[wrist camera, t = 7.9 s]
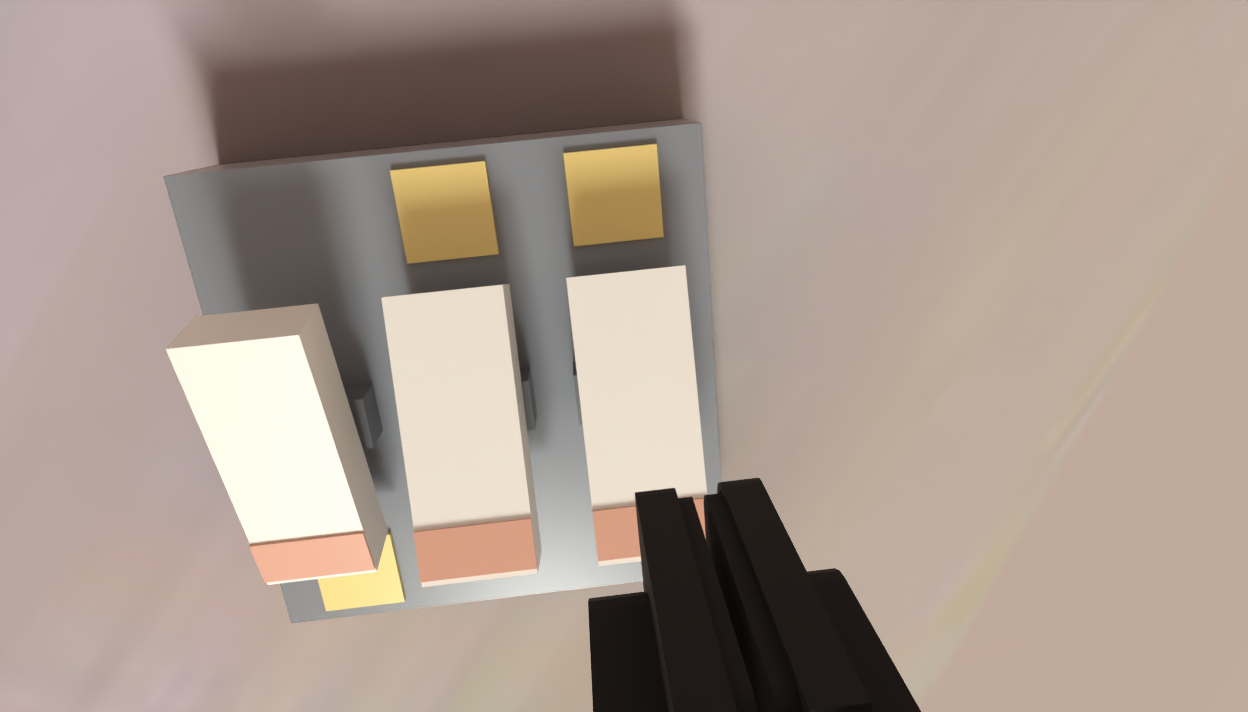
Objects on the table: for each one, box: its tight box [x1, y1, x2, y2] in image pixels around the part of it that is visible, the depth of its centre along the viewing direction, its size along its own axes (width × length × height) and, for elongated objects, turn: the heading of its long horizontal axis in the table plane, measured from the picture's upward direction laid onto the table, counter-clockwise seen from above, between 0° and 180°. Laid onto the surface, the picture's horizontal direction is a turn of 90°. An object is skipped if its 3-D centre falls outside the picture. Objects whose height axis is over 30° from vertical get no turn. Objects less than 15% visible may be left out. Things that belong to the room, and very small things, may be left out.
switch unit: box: [163, 119, 721, 623], centre depth 28 cm, size 17×17×5 cm
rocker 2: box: [381, 284, 542, 587], centre depth 24 cm, size 9×4×2 cm, turn 5°
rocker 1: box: [166, 303, 388, 585], centre depth 24 cm, size 9×4×2 cm, turn 5°
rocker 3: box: [566, 265, 707, 566], centre depth 24 cm, size 9×4×2 cm, turn 5°
